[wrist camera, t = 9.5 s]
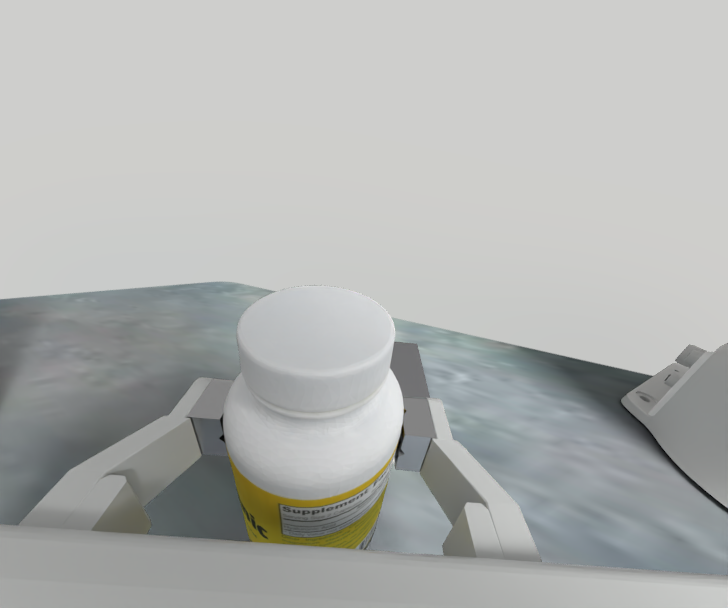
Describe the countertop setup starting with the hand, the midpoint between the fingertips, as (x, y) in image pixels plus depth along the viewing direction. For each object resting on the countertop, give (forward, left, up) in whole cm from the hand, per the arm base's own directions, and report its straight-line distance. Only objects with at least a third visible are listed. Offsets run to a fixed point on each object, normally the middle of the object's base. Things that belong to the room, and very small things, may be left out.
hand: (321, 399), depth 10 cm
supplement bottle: (+1, +1, -6) cm, 6 cm away
